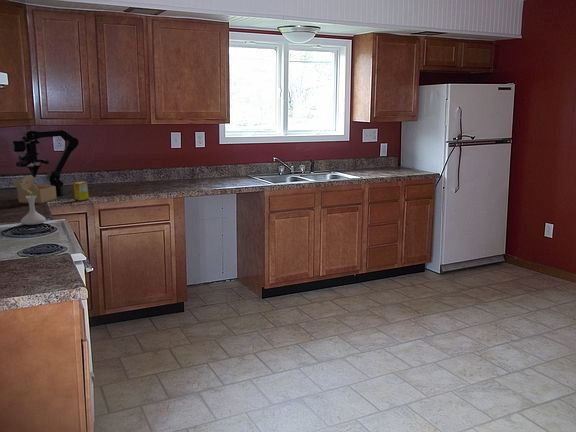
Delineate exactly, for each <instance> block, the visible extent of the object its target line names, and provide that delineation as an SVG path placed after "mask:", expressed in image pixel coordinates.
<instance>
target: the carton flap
mask: <svg viewBox="0 0 576 432" xmlns="http://www.w3.org/2000/svg"><path fill="white" fill-rule="evenodd" d="M22 181H23V180H13V179H12V180H11V183H12V184H13V185H14V186H15V187H16V190H17V189H22V186H23V185H21V184H22ZM35 185H36V184H35V183H34V182H33V183H32V185H31V186H32V187H30V188H29V189H28V190H32V188H33V190H38V188H37V187H36V186H35Z"/></svg>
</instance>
